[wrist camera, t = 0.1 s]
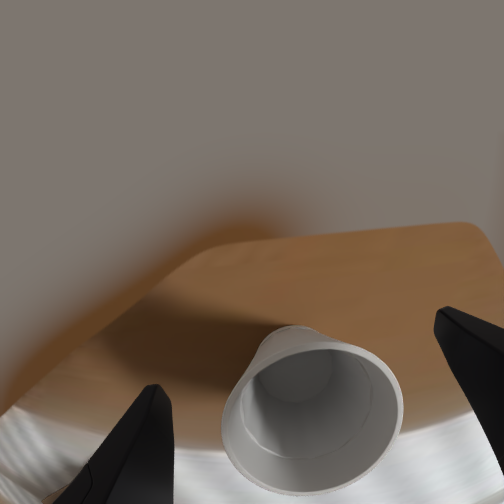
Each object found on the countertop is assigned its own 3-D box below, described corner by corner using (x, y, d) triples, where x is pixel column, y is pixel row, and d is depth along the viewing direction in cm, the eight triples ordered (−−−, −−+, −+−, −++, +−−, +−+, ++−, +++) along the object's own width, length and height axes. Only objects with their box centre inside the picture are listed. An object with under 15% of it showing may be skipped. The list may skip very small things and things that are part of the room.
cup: (223, 370, 23) (185, 440, 11) (286, 294, 23) (304, 301, 11) (299, 424, 22) (319, 515, 10) (361, 352, 22) (434, 400, 10)
